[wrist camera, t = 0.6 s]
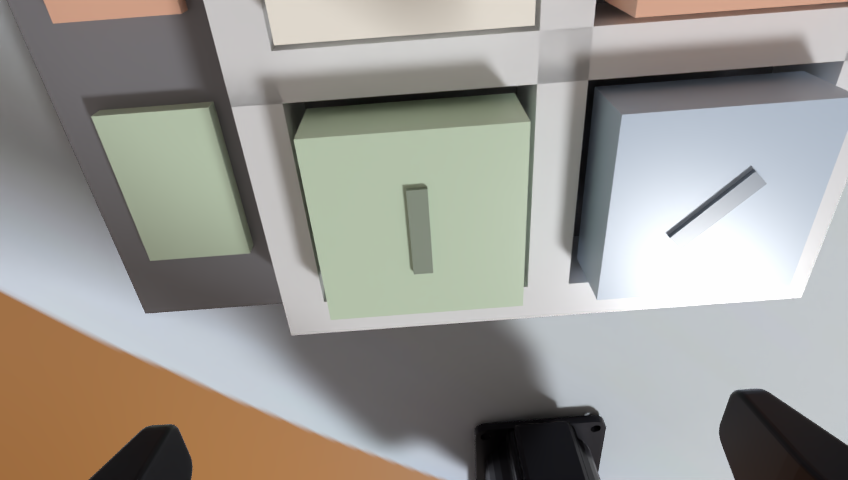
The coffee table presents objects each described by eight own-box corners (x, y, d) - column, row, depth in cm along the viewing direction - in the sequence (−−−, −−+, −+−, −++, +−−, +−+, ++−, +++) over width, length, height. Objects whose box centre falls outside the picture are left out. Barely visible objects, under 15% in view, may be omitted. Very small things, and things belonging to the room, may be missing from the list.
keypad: (727, 222, 22) (816, 313, 17) (175, 264, 22) (114, 365, 17) (903, -415, 13) (1197, -591, 8) (-56, -339, 13) (-319, -469, 8)
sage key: (510, 262, 16) (523, 308, 15) (337, 276, 17) (330, 322, 15) (514, 92, 14) (531, 123, 12) (306, 108, 14) (292, 141, 12)
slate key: (749, 245, 16) (792, 288, 15) (576, 257, 16) (598, 303, 15) (804, 70, 14) (864, 98, 12) (594, 86, 14) (623, 116, 12)
